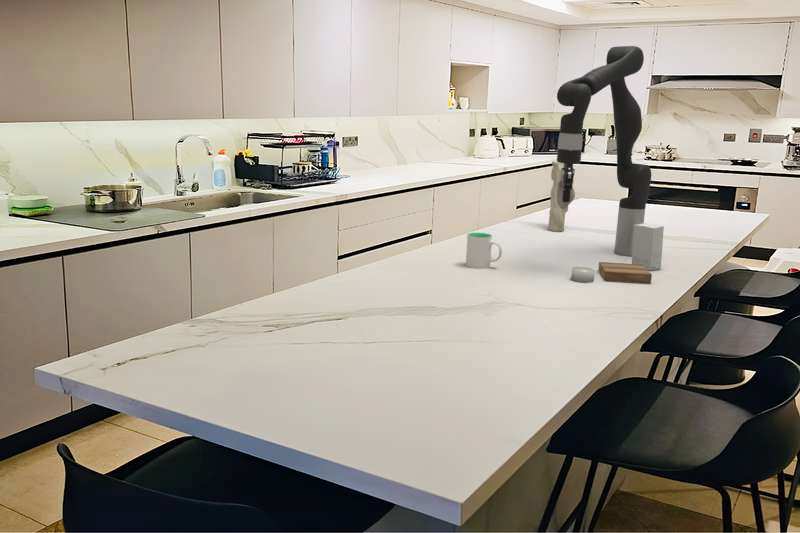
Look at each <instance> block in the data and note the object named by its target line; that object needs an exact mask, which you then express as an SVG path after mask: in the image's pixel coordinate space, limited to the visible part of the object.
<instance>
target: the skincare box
mask: <svg viewBox="0 0 800 533" xmlns="http://www.w3.org/2000/svg"><path fill="white" fill-rule="evenodd" d="M664 227H665V226H664V225H657V224H651V223H643V224H636V225H634V237H633V252H632V256H631V264H643V266H644V267H645V268H646V269H647V270H648V271H655V270H656V271H657V270H661V269H662V259H663V258H662V255H663V244H664V243H663V241H664Z"/></svg>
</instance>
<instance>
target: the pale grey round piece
mask: <svg viewBox="0 0 800 533" xmlns="http://www.w3.org/2000/svg"><path fill="white" fill-rule="evenodd" d="M595 272H596V271H595V269H593V268H591V267H585V266H574V267H572V268H571V272H570V273H571V275H570V280H571V281H573V282H576V283H583V284H586V283H587V284H590V283H593V282H594V281H595Z"/></svg>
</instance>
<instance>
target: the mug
mask: <svg viewBox="0 0 800 533" xmlns="http://www.w3.org/2000/svg"><path fill="white" fill-rule="evenodd" d="M466 238H467V239H466V254H465V266H466V267H468V268H473V269H488V268H490V266H491V263H493V262H494V263H495V262H498V261H499V260H500V259H501V257H502V253H503V249H502V245H501V244H500V242H498V241H495V240H493V239H492V238H493V235H492V234H491V233H484V232H469V233H468V232H467V237H466ZM492 245H496V246H497V247H498V256H497V258H495V259H494V258H493V257H492Z"/></svg>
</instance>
